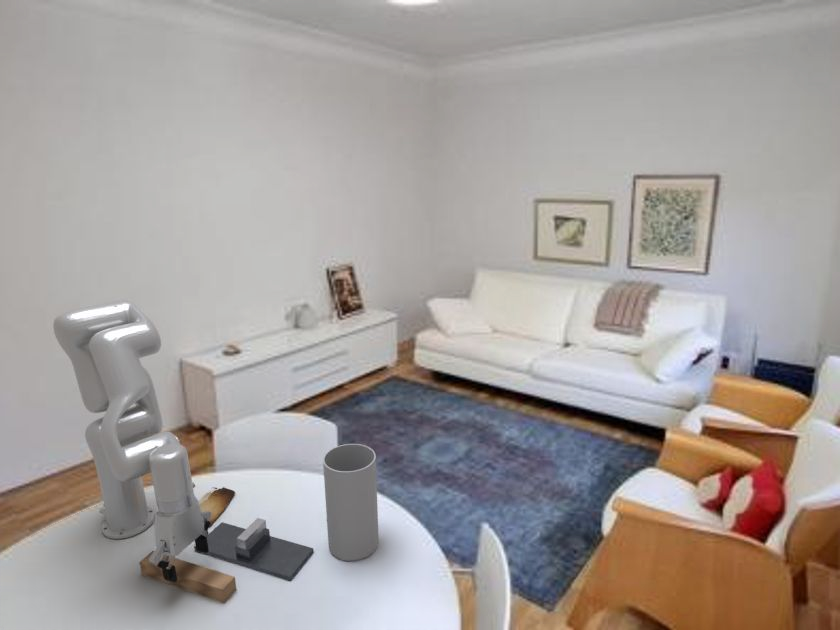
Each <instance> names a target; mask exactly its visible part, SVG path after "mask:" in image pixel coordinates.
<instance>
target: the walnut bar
mask: <svg viewBox="0 0 840 630" xmlns="http://www.w3.org/2000/svg"><path fill="white" fill-rule="evenodd" d="M153 552H154V550H152V551H150V553H148V554H147V555H146V556H145V557H143V558H142V559H141V560H140V561H139V568H140V572H141V575H142V576H144V577H147V578H149V579H152V580H156V581H159V582H161V583H165V584H167V585H170V586H173V587H176V588H179V589H183V590H185V591H188V592H191V593H194V594H197V595H199V596H202V597H206V598H208V599H211V600H214V601H217V602H219V603H223V604H226V603H227V601H228V600H229V599H230V598H231V597H232V596H233V595H234V594H235V592H236V591H237V589H238V588H237V582H236V577H235V576H233V575H231V574H227V573H224V572H222V571H218V570H215V569H213V568H212V569H211V568H209V567H205V566H202V565H199V564H196V563H194V562H189V561H186V560H184V559H180V558H177V557H175V559H174V562H173V565H174V566H175V569H176V575H177V581H176V582H175V583H174V582H171V581H167V580H165V579H164V577H163V571H162V568H160V567H156V566H154V565H153V564H152V563H151V562H149V558H150V557H151V555H152V554H153ZM161 555H162V554H161ZM169 557H170V556H169V555H167V557H166V560H165V561H166V562H168V559H169ZM160 558H161V556H160Z"/></svg>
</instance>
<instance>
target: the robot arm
mask: <svg viewBox="0 0 840 630" xmlns="http://www.w3.org/2000/svg"><path fill="white" fill-rule="evenodd" d="M52 327H53V333H54V335H55V338H56V341H57V342H58V344H59V346H60V347H61V349H62V350H63V352H64V353H65V354H66V355H67V357H68V358H69V361H70V362H71V364H72V367H73V371H74V374H75V375H74V376H75V378H76V382H77V385H78V389H79V392H80V396H81V399H82V403H83V405H84V407H85V409H86V410H87V411H88V412H90V413H93V414H99V413H103V412H104V416H102V417H100V418H97V419H95V420H94V421H92V422H90V423H89V424H88V426H87V427H86V428H85V432H84V436H85V442H86V444H87V446H88V448H89V450H90V453H91V456H92V459H93V462H94V464H95V469H96V473H97V478H98V482H99V488H100V491H101V492H100V493H101V497H102V502H103V505H102V507H100V509H99V511H98V512H99V514H102V515H104V518H105V520H104V521H103V523H102V525H101V531H102V534H103V536H105V537H106V538H108V539H113V540H121V539H126V538H132V537H133V536H136V535H138V534H140V533H142V532H144V531H145V530H147V529H149V527H151V526H152V525H153V523H154V537H155V538H154V540H155V546H156V548H155V549H154V550H153V551H154V552H153V554H152V555H151V557H150V558H149V562H151V563H152V564H153V565H154V566H156V567H160V568H162V571H163V577H164V579H165V580H167V581H171V582H174V583H175V582H176V581H177V575H176V569H175V566H174V565H173V562H174V559H175V558H176V556H178V555H179V554H181V552H183V551H185V549H187V547H189V546H190V545H191V544H192V543H193V542H194V543H195V546H196V550H197V551H200V552H203V553H207V552H208V551H209V549H208V543H207V536H208V534H209V531H208V530H209V528H210V527H211V526H210V519H211V512H209V511H203V512H202V511H201V508H200V505H199V502H198V501H199V500H198V499H197V496H196V494H195V491H194V488H196V484H195V483H194V482H193V481H192V473H191V468H190V462H189V460H190V459H189V456H188V451H187V449H186V447H185V446H184V445H182V444H181V443H180V440H179V438H178V436H177V435H175V434H174V433H173V432H171V431H163V428H164V427H163V426H164V425H163V419H162V415H161V411H160V410H161V409H160V407H159V406H160V405H159V403H158V399H157V394H156V390H155V386H154V383H153V379H152V377H151V374H150V373H149V372H148V370H147V368H145V367H144V366H143V365H142V363H141V361H140V359H142V358H144V357H148V356H151V355H154V354H157V353H158V352H159V351H161V350H160V349H161V348H162V347H161V346H162V341H161V335H160V334H159V331H158V329H157V328H156V326H155V325H154V323H153V322H152V321H151V319H149V317H148V316H147V315H146V314H145V313H144V312H143V311H142V310H141V309H140V308H138V307H137V305H135V304H134V303H133V302H131V301H129V300H116V301H111V302H106V303H101V304H96V305H95V304H94V305H90V306H85V307H84V306H83V307H80V308H76V309H72V310H68V311H65V312H63V313H60V314H59V315H58V316H56V317H55V319H54V320H53V326H52ZM133 405H134V406H133ZM148 474H150V475H151V479H152V485H153V490H154V495H155V502H156V505H157V506H156V507H157V511H156V512H155V509H154V508H152V507H150V506H148V505H147V499H146V494H145V488H144V483H143V478H142V477H143V476H146V475H148ZM209 526H210V527H209ZM197 551H196V552H197ZM200 552H199V553H200ZM203 553H202V554H203ZM161 554H162V555H161ZM167 555H168V556H170V557H169V559H168V562H166V561H165V560H166V557H167ZM160 556H161V558H160Z"/></svg>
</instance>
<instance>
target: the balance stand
mask: <svg viewBox="0 0 840 630" xmlns="http://www.w3.org/2000/svg"><path fill="white" fill-rule="evenodd" d="M270 533H271V531H270V529H269V528H267V520H266V519H263V518H260V517H256V519H254V521H253V522H252V523H251V524H249V526H247V528H243V527H241V526H240V527H239V526H237V525H232V524H230V523H226V522H223V521H222V522H220V523H219V524H218V525H217V526H216V527H215V528H214V529H213V530H212V531H210V532H208V536H207V543H208V549H209V551H208V552H207V553H203V552H200V551H197V550H196V545H195V546H194V547H193V548H194V551H195V552H196V553H199V554H202V555H207V556H209V557H213V558H217V559H220V560H223V561H225V562H228V563H232V564H235V565H238V566H241V567H245V568H248V569H251V570H254V571H258V572H260V573H264V574H266V575H270V576H273V577H276V578H279V579H283V580H286V581H289V582H291V581H292V580H293V579H294V578H295V576H296V575H297V574H298V573H299V571H301V569H302V568H303V567H304V565H305V564H306V563H307V562H308V560H309V559H310V558H311V557H312V555H313V554H314V551H315V550H314V547H310V546H307V545H303V544H299V543H296V542H292V541H289V540H287V539H282V538H280V537H276V536H272V535H270Z"/></svg>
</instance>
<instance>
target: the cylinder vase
mask: <svg viewBox="0 0 840 630" xmlns="http://www.w3.org/2000/svg"><path fill="white" fill-rule="evenodd" d="M322 467H323V468H322V469H323V480H324V481H323V482H324V495H325V498H324V499H325V510H326V512H325V513H326V526H327V539H328V540H327V541H328V548H329V551H330V553H331V554H332V555H333V556H334V557H336V558H337V559H339V560H342V561H349V562H352V561H354V562H355V561H360V560H363V559H365V558H368V557H369V556H370V555H371V554H372V553H375V552H374V551H376V550H377V547H378V545H379V519H378V517H379V512H378V510H379V509H378V486H377V485H378V484H377V482H378V481H377V480H378V479H377V457H376V453H375V451H374V449H373V448H372V447H370V446H368V445H365V444H360V443H345V444H342V445H337V446H334V447H332V448H331V449H329V450H328V451H326V453H325V454H324V455H323V458H322Z"/></svg>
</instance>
